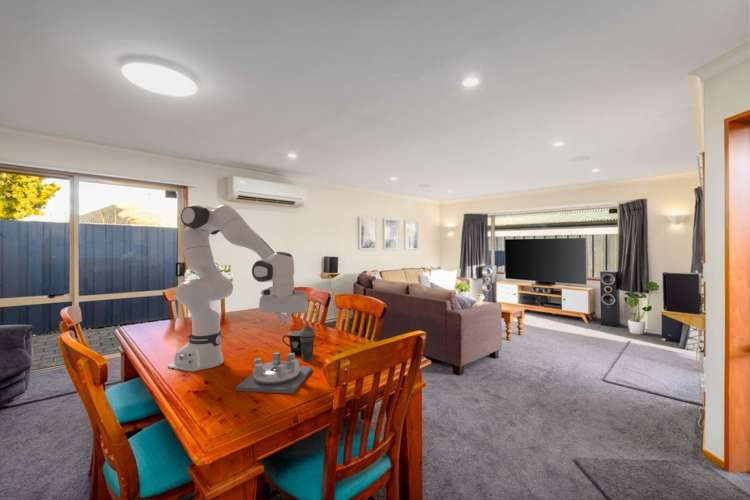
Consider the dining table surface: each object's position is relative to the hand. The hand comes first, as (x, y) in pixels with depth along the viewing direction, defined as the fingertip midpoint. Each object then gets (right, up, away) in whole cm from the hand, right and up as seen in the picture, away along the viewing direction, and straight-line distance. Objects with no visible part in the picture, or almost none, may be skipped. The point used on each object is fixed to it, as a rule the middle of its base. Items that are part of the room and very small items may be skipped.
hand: (283, 323), depth 134 cm
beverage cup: (+7, -21, +16) cm, 27 cm away
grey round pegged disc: (-1, -20, -7) cm, 21 cm away
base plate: (-1, -21, -7) cm, 22 cm away
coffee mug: (-1, -21, +26) cm, 33 cm away
